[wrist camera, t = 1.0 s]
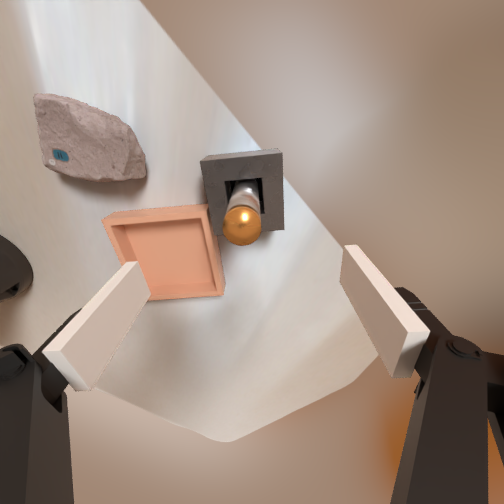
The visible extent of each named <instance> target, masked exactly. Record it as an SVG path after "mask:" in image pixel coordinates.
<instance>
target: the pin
mask: <svg viewBox="0 0 504 504" xmlns="http://www.w3.org/2000/svg"><path fill="white" fill-rule="evenodd" d="M222 229H223V233H224V235H225V237H226V238H227V239H228V240H229V241H230V242H231V243H233V244H236V245H241V246H243V245H249V244H251V243H253V242H254V241H256V240H257V239H258V237H259V236H260V233H261V217H260V205H259V192H258V184H257V181H256V180H255V178H251V179H240V180H236V183H235V186H234V189H233V192H232V195H231V198H230V202H229V205H228V208H227V211H226V214H225V218H224V221H223V225H222Z"/></svg>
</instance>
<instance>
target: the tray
mask: <svg viewBox="0 0 504 504" xmlns="http://www.w3.org/2000/svg"><path fill="white" fill-rule="evenodd" d="M101 221H102V223H103V225H104V227H105V230H106V232H107V234H108V236H109V238H110V241H111V243H112V245H113V247H114V250H115V252H116V254H117V256H118V258H119V261H120V263H121V265H122V266H123V265H124V264H125V263H126V262H133V261H138V263H139V265H140V268H141V270H142V273H143V275H144V278H145V280H146V282H147V285H148V287H149V290H150V292H151V295H150V297H149V298H148V300H162V299H176V298H190V297H204V296H219V295H224V289H225V277H224V272H223V267H222V262H221V256H220V251H219V246H218V240H217V235H215V236H214V232H213V226H212V221H211V216H210V211H209V206H208V203H207V204H196V205H185V206H174V207H163V208H152V209H141V210H130V211H119V212H113V213H112V214H110V215H108V216H107V217H105V218H104V219H102V220H101ZM148 300H147V301H148Z"/></svg>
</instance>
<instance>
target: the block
mask: <svg viewBox="0 0 504 504" xmlns="http://www.w3.org/2000/svg"><path fill="white" fill-rule="evenodd" d="M200 165H201V170H202V175H203V180H204V185H205V190H206V196H207V201H208V206H209V211H210V216H211V221H212V226H213V232H214V236H215V235H224V233H223V229H222V225H223V221H224V218H225V214H226V211H227V208H228V205H229V202H230V198H231V195H232V192H231V185H230V180H240V179H251V178H261V180H262V195H263V201H259V205H260V217H261V232H263V231H275V230H284V200H283V159H282V152H281V151H280V150H279V149H268V150H258V151H248V152H238V153H228V154H218V155H208V156H207V157H205V158H204V159H202V160H201V161H200Z"/></svg>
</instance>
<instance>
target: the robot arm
mask: <svg viewBox="0 0 504 504" xmlns="http://www.w3.org/2000/svg"><path fill="white" fill-rule="evenodd" d="M32 276H33V275H32V270H31V267H30V264H29V262H28V261H27V259H26V258H25V256H24V255H23V254H22V253H21V252H20V250H19V249H18V248H17V247H15V246H14V245H13V244H12V243H11V242H9V241H8V240H7V239H5V238H4V237H2V236H0V302H3V301H5V300H8V299H11V298H13V297H15V296H17V295H18V294H20V293H21V292H23V291H24V290H25V289H27V288H28V287H29V286H30V284H31V282H32ZM340 283H341V285H342V287H343V289H344V291H345V293H346V294H347V296H348V298H349V300H350V302H351V304H352V306H353V307H354V309H355V311H356V313H357V315H358V317H359V318H360V320H361V322H362V324H363V326H364V328H365V330H366V331H367V333H368V335H369V337H370V339H371V341H372V343H373V344H374V346H375V348H376V350H377V352H378V354H379V355H380V357H381V359H382V361H383V363H384V365H385V367H386V368H387V370H388V372H389V374H390V376H391V378H404V377H405V378H407V377H411V376H412V373H413V371H414V369H416V371H417V373H418V374H419V376H420V377H421V378H420V381H419V383H418V385H417V387H416V389H415V391H414V393H416V396H415V400H414V405H413V409H412V414H411V417H410V422H409V426H408V430H407V434H406V439H405V443H404V447H403V451H402V456H401V460H400V465H399V468H398V473H397V477H396V482H395V486H394V490H393V494H392V498H391V503H390V504H488V420H489V423H490V426H491V429H492V432H493V435H494V438H495V441H496V444H497V447H498V450H499V453H500V456H501V459H502V462H503V465H504V355H499V354H494V353H488V352H484V351H482V350H481V349H480V348H479V347H478V346H476V345H475V344H474V343H472V342H470V341H468V340H466V339H464V338H462V337H458V336H454V335H452V334H451V333H450V332H449V331H448V330H447V329H446V327H445V326H444V325H443V324H442V323H441V322H440V321H439V320H438V319H437V318H436V317H435V316H434V315H433V314H432V313H431V312H430V311H429V310H427V307H426V306H425V305H424V304H423V303H421V301H420V300H419V299H418V298H417V297H416V296H415V295H414V294H413V293H412V292H410V291H408V290H407V289H405V288H403V287H401V288H400V287H399V288H393V287H392V286H391V284H390V283H389V282H388V281H387V280H386V279H385V277H384V276H383V275H382V274H381V273H380V271H379V270H378V269H377V268H376V267H375V266H374V265H373V263H372V262H371V261H370V260H369V259H368V258H367V256H366V255H365V254H364V253H363V252H362V251H361V249H360V248H359V247H358V246H357V245H346V246H344V249H343V258H342V266H341V274H340ZM150 295H151V292H150V290H149V287H148V285H147V282H146V280H145V278H144V275H143V273H142V270H141V268H140V265H139V263H138V261H133V262H126V263H125V264H124V265H123V266H122V267H121V268H120V269H119V270H118V272H117V273H116V274H115V275H114V276H113V277H112V278H111V279H110V280H109V281H108V282H107V283H106V284H105V285H104V286H103V287H102V288H101V289H100V291H99V292H98V293H97V294H96V295H95V296H94V297H93V298H92V299H91V300H90V301H89V302H88V303H87V304H86V305H85V306H84V307H83V308H81V309H80V310H78V311H77V312H75V313H74V314H72V315H71V316H70V317H69V318H68V319H67V320H66V321H65V322H64V323H63V325H61V326H60V327H59V328H58V329H57V330H56V332H54V333H53V334H52V335H51V336H50V337H49V338H48V339H47V340H46V341H45V343H44V344H43V345H42V346H41V347H40V348H39V349H38V350H37V351H36V352H35V353H34V354H33V355H31V354H30V353H29V352H28V351H27V349H26V348H25V347H24V346H23V345H21V344H12V345H9V346H6V347H3V348H1V349H0V504H74V497H73V482H72V467H71V451H70V437H69V422H68V407H67V396H66V393H65V392H64V389H65V388H66V387H67V385H68V384H70V385H71V387H72V388H73V389H74V390H75V391H91V390H92V389H93V387H94V386H95V384H96V382H97V381H98V379H99V378H100V376H101V374H102V373H103V371H104V369H105V368H106V366H107V365H108V363H109V361H110V360H111V358H112V357H113V355H114V353H115V352H116V350H117V348H118V347H119V345H120V344H121V342H122V340H123V339H124V337H125V336H126V334H127V332H128V331H129V329H130V327H131V326H132V324H133V323H134V321H135V319H136V318H137V316H138V315H139V313H140V311H141V310H142V308H143V307H144V305H145V303H146V302H147V300H148V298H149V297H150ZM487 419H488V420H487Z"/></svg>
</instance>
